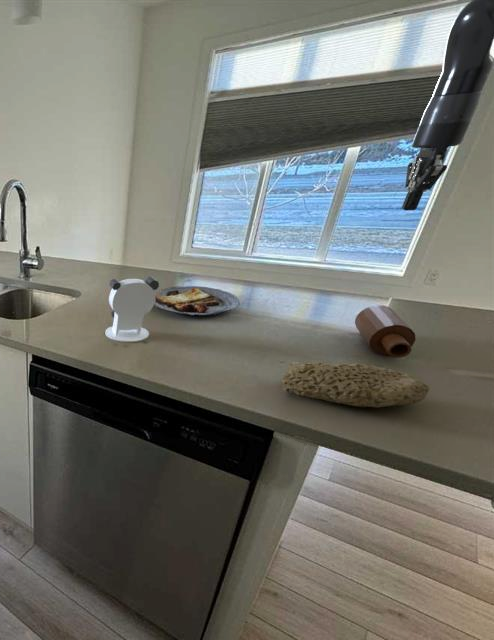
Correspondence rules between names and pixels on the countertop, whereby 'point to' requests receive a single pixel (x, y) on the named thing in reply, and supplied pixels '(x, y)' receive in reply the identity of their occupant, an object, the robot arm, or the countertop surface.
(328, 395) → the sponge
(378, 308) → the bottle
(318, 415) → the countertop surface
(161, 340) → the countertop surface
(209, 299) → the food plate
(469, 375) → the countertop surface
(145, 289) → the panda figurine
